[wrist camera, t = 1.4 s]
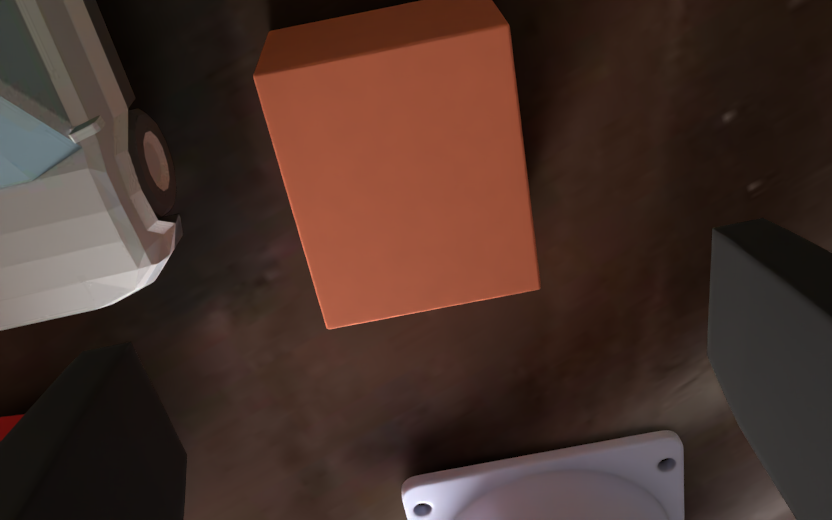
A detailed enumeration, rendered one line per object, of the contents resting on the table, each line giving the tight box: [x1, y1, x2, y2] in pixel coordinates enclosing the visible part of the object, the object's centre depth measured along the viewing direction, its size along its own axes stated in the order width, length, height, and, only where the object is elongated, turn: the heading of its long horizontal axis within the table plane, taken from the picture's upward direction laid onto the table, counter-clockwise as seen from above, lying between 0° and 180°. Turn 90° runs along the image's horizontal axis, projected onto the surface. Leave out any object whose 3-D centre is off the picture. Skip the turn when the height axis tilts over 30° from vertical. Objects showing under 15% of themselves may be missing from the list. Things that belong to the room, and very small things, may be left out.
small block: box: [253, 0, 541, 329], centre depth 16 cm, size 6×4×3 cm
